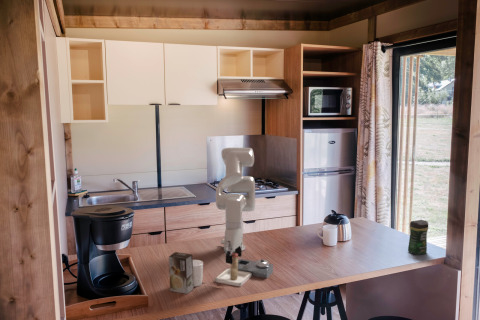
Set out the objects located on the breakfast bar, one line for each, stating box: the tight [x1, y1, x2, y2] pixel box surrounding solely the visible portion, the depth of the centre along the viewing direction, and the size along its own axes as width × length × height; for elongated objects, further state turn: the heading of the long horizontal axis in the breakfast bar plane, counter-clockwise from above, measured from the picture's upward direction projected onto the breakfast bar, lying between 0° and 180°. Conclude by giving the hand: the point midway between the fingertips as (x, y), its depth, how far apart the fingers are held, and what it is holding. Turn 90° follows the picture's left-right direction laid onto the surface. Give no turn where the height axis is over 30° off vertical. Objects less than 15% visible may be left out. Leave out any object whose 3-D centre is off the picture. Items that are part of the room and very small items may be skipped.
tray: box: [214, 268, 253, 288], centre depth 191 cm, size 13×13×2 cm
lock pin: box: [229, 252, 239, 280], centre depth 190 cm, size 3×3×12 cm
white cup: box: [193, 259, 204, 288], centre depth 187 cm, size 8×8×10 cm
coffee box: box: [168, 251, 194, 295], centre depth 180 cm, size 9×6×16 cm
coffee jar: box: [407, 219, 429, 255], centre depth 227 cm, size 10×8×19 cm
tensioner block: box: [238, 258, 274, 279], centre depth 198 cm, size 18×8×8 cm, turn 65°
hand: (233, 259), depth 190 cm, fingers open, 9 cm apart
